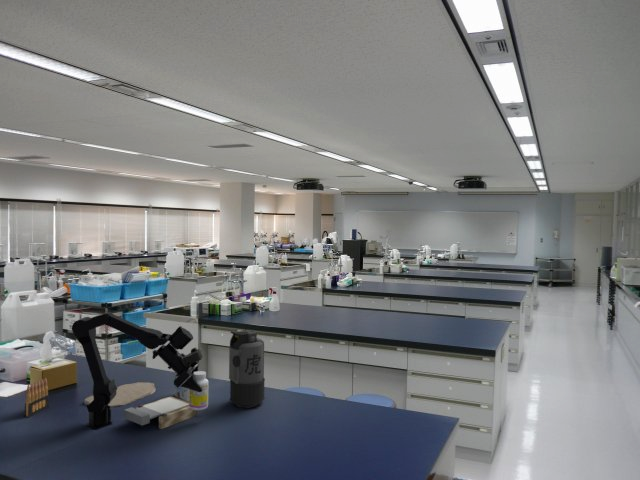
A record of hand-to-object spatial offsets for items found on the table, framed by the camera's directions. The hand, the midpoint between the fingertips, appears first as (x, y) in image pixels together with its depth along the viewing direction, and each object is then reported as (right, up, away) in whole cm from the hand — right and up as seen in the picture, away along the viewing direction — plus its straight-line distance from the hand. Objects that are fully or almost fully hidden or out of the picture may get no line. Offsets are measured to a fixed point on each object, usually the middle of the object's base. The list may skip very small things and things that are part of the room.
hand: (203, 388), depth 177 cm
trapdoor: (-18, -10, +2) cm, 20 cm away
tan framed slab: (-15, -12, +5) cm, 20 cm away
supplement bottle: (-2, -7, 0) cm, 7 cm away
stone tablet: (-39, -12, +26) cm, 49 cm away
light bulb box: (-13, -12, +27) cm, 32 cm away
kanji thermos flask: (+13, -13, +21) cm, 27 cm away
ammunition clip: (-66, -12, +8) cm, 67 cm away
